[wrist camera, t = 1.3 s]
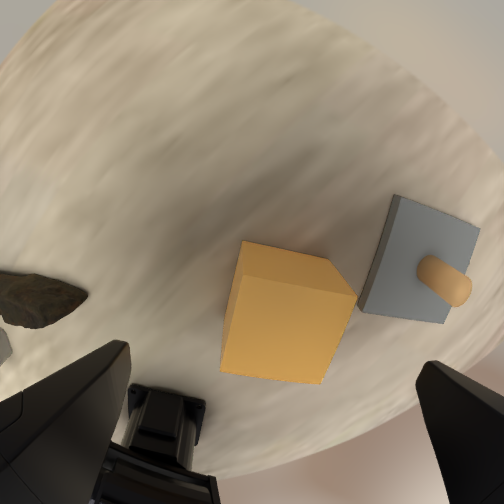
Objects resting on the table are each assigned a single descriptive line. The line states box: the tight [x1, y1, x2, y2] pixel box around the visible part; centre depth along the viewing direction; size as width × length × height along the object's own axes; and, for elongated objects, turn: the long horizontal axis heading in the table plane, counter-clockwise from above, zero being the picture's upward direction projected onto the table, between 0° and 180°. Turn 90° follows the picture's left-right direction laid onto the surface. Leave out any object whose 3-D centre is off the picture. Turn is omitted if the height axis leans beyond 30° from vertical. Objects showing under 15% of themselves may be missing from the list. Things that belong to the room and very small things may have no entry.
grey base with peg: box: [357, 195, 480, 324], centre depth 17 cm, size 8×8×5 cm
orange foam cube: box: [220, 240, 358, 384], centre depth 17 cm, size 6×6×6 cm
